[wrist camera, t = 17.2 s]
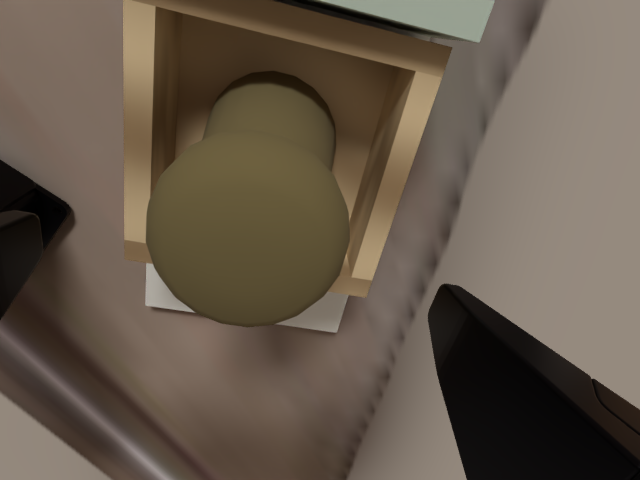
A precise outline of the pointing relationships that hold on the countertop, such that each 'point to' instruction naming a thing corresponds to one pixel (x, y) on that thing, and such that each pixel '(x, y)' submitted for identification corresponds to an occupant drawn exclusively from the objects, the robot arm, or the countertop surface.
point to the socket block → (290, 58)
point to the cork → (253, 206)
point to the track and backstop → (388, 14)
